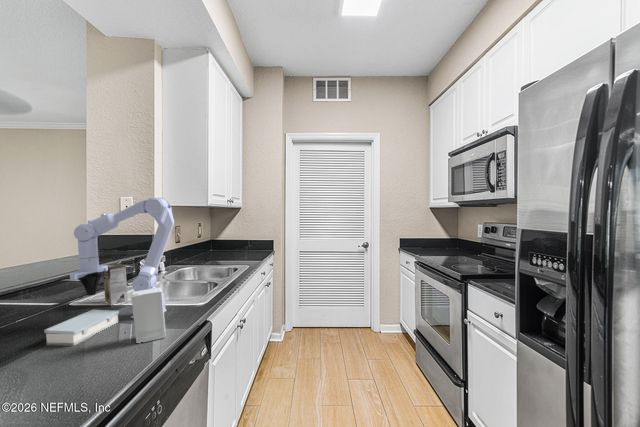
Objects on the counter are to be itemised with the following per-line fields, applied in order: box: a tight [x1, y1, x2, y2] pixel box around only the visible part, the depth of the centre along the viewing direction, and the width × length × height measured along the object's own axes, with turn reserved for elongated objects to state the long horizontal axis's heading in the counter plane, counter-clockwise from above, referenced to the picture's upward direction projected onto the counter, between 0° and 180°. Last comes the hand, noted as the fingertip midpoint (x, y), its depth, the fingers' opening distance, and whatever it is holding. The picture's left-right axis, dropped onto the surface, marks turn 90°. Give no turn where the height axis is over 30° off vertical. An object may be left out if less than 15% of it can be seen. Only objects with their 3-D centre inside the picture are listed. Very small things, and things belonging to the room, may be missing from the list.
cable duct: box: [45, 313, 119, 347], centre depth 107 cm, size 10×18×4 cm, turn 173°
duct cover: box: [44, 309, 120, 334], centre depth 106 cm, size 10×18×1 cm, turn 173°
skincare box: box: [130, 286, 167, 344], centre depth 100 cm, size 8×6×15 cm
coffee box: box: [102, 263, 129, 307], centre depth 139 cm, size 9×6×16 cm
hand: (91, 294), depth 118 cm, fingers closed
